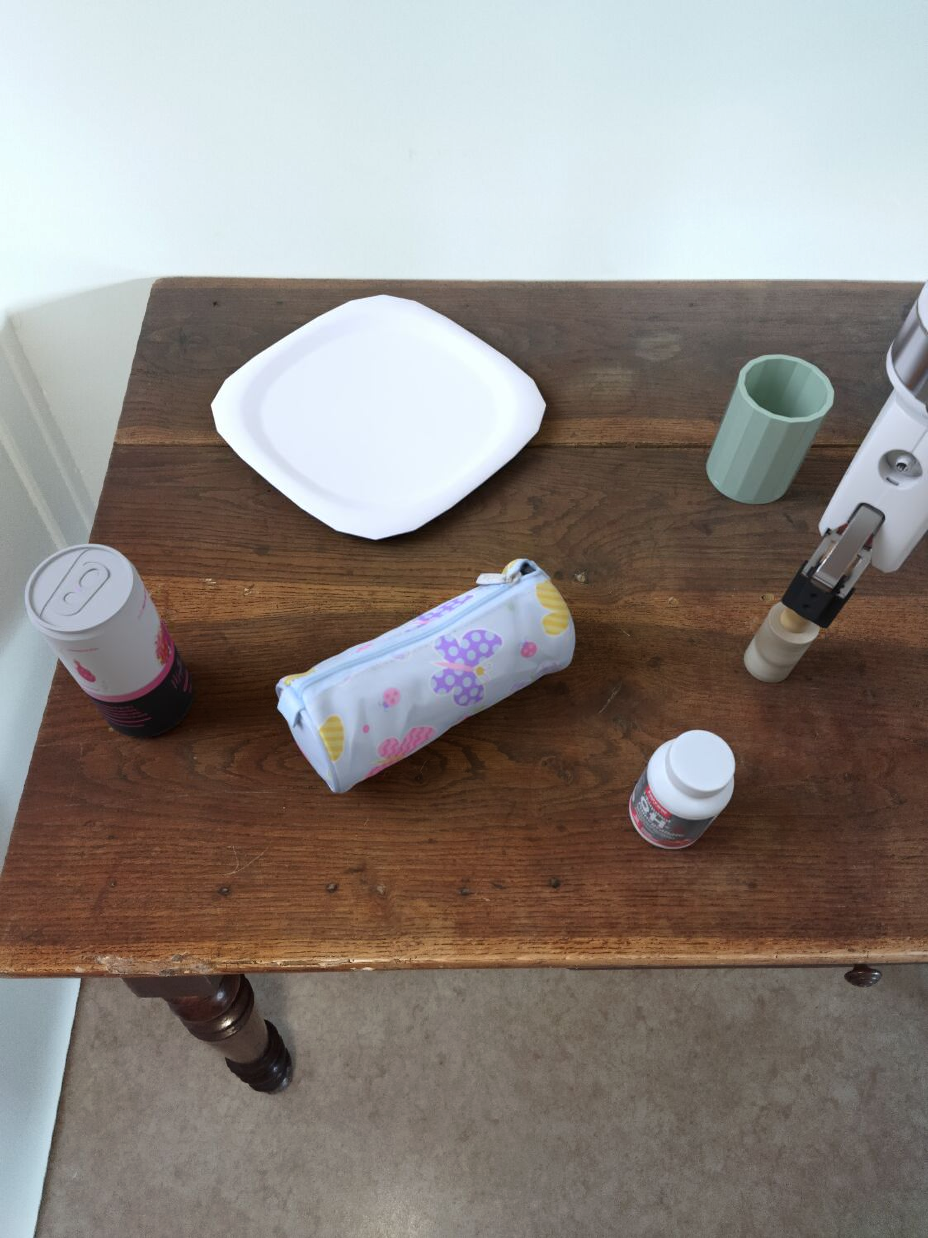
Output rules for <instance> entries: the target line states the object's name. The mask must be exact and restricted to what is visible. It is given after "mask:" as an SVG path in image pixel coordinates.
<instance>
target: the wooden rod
mask: <svg viewBox="0 0 928 1238" xmlns="http://www.w3.org/2000/svg"><path fill="white" fill-rule="evenodd" d="M850 522H851V521H849V520H848V521H847V523H846V524H844V525H842V526H841V527H840V530H842V531H843V532H844V530H845V529H846V528H847V526H848V525H849V523H850ZM874 536H875V535H874V534H873V533H872V534H871V535H870V537H869V538H868V540H867V541H866V542H865V544H866V545H868V546H870V545H872V539H873V537H874ZM834 545H835V543H834V542H833V544H832V545H831V547H830V548H829V550H828V551H827V553H826V554H825V556H824V557H823V559H822V560H821V562H823V561H824V559H825V558H826V556H827V555H828V553H829V552H830V550H831V549H832V548H833V546H834ZM857 558H859V557H858V556H857V555H856V557H855V558H854V560H853V561H852V562H851V564H850V565H849V567H848V568H847V570H846V571H845V572H844V575H846V574H847V572H848V571H849V570H850V568H851V566H853V564H854V562H855V561H856V559H857ZM820 628H821V627H819V626H818V625H816V624H814V623H813V622H811V621H809V620H806V619H804V618H803V617H801V616H799V615H798V614H797V613H796V612H795V611H793V610H791V609H790V608H788V607H786V606H785V605H783V603H782V602H781V601H779V602H777V603H775V604H773V606H772V607H771V608H770V610H769V611H768V613H767V615H766V617H765V618H764V619H763V621H762V622H761V625H760V627H759V628H758V629H757V631H756V633H755V634H754V636H753V638H752V640H751V641H750V643H749V645H748V646H747V648H746V649H745V651H744V653H743V654H744V655H743V663H744V666H745V668H746V670H747V671H748V672H749V673H750V674H751V676H753V677H754V678H755V679H757V680H759V681H761V682H764V683H769V684H774V683H780V682H782V681H783V680H785V679H786V678H788V676H789V675H790V673H791V672H792V671H793V670H794V668H795V667H796V666H797V664H798V663H799V661H800V660H801V658H802V657H803V656H804V654H805V653H806V652H807V650H808V649H809V648H810V647H811V645H812V643H813V642H814V641H815V639H816V638H817V636H818V635H819V632H820V630H821V629H820Z"/></svg>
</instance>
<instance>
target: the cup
mask: <svg viewBox="0 0 928 1238" xmlns="http://www.w3.org/2000/svg"><path fill="white" fill-rule="evenodd" d="M834 398H835V389H834V388H833V385H832V383H831V381H830V378H829V377H828V376H827V375H826V374H825V373H824V372H822V370H821V369H819V368H818V367H817V366H816V365H814V364H812V363H810V362H808V361H806V360H805V359H802V358H801V357H797V356H792V355H788V354H787V355H786V354H781V353H779V354H777V353H776V354H763V355H761V356H758V357H756V358H753V359H751V360H749V361H748V362H747V363H746V364H745V365H744V366H743V367H742V368H741V369H740V370H739V373H738V376H737V378H736V381H735V383H734V386H733V388H732V391H731V394H730V397H729V400H728V401H727V404H726V407H725V410H724V412H723V414H722V417H721V420H720V423H719V425H718V428H717V431H716V433H715V436H714V438H713V441H712V443H711V446H710V449H709V452H708V456H707V458H706V463H705V470H706V474H707V476H708V480H709V481H710V483H711V484H712V485H713V486H714V488H715V489H716V490H717V491H718V492H719V493H721V494H723V495H724V496H725V497H727V498H729V499H730V500H733V501H736V502H739V503H742V504H747V505H765V504H766V505H767V504H770V503H773V502H775V501H777V500H778V499H780V498H781V497H783V496H784V495H785V494H786V493H787V492H788V491H789V488H790V486H791V485H792V484H793V482H794V480H795V478H796V476H797V474H798V472H799V471H800V469H801V467H802V464H803V463H804V461H805V459H806V457H807V456H808V453H809V451H810V449H811V448H812V445H813V444H814V442H815V440H816V438H817V436H818V434H819V432H820V430H821V428H822V426H823V425H824V422H825V421H826V419H827V417H828V415H829V413H830V411H831V409H832V408H833V405H834Z"/></svg>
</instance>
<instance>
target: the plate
mask: <svg viewBox="0 0 928 1238" xmlns="http://www.w3.org/2000/svg"><path fill="white" fill-rule="evenodd" d="M210 407H211V411H212V415H213V419H214V424H215V428H216V432H217V434H218V435H219V436H220V437H221V438H222V439H223V440H224V441H225V443H226V444H227V445H228V446H229V447H230V448H231V449H232V451H233V452H234V453H235V454H236V455H237V456H238V457H239V458H240V460H242V461H243V462H244V463H245V464H247V466H248V467H250V468H251V469H252V470H254V471H255V472H256V473H257V474H258V475H259V476H260V477H262V478H263V479H264V480H265V481H266V482H267V483H268V484H270V485H271V486H272V487H273V488H274V489H276V490H277V492H279V493H281V494H282V495H283V496H284V497H286V498H287V499H288V500H289V501H291V502H292V503H293V504H294V505H295V506H297V507H298V508H299V509H301V510H302V511H303V512H305V513H306V514H308V515H309V516H311V517H313V518H314V519H316V520H317V521H319V522H321V523H322V524H324V525H326V526H327V527H328V528H329V529H331V530H333V531H335V532H337V533H340V534H346V535H348V536H353V537H358V538H362V539H366V540H371V541H375V542H377V541H380V540H384V539H390V538H393V537H397V536H401V535H405V534H410V533H414V532H416V531H418V530H419V529H421V528H422V527H424V526H425V525H427V524H429V523H431V522H432V521H433V520H435V519H437V518H439V517H440V516H442V515H443V514H445V513H447V512H449V511H450V510H451V509H453V508H454V507H455V506H456V505H458V504H459V503H460V502H461V501H462V500H464V499H465V498H466V497H468V496H469V495H470V494H472V493H473V492H474V491H476V490H477V489H478V488H479V487H481V486H482V485H483V484H485V483H486V482H487V481H488V480H489V479H490V478H492V477H493V476H494V475H496V473H497V472H499V471H500V470H502V468H504V467H505V466H506V465H507V464H509V463H510V462H511V461H512V460H513V459H515V457H517V455H518V454H519V453H521V451H522V450H523V449H524V448H525V447H526V446H527V445H528V444H529V442H530V441H532V439H533V438H534V437H536V436H537V434H538V433H539V430H540V427H541V424H542V421H543V417H544V414H545V411H546V407H547V404H546V402H545V400H544V398H543V396H542V394H541V391H540V390H539V388H538V386H537V383H536V382H535V381H534V379H533V378H532V377H531V376H529V375H528V374H527V373H526V372H524V370H523V369H521V368H520V367H519V366H518V365H517V364H515V363H514V362H513V361H512V360H511V359H509V358H508V357H507V356H505V355H504V354H502V353H501V352H500V351H498V350H497V349H495V348H494V347H493V346H491V345H489V344H488V343H486V342H485V341H484V340H482V339H481V338H479V337H478V336H476V335H475V334H473V333H472V332H470V331H468V330H467V329H466V328H464V327H463V326H461V325H459V324H458V323H456V322H455V321H453V320H452V319H451V318H449V317H447V316H445V315H444V314H441V313H439V312H437V311H435V310H434V309H431V308H430V307H428V306H426V305H424V304H422V303H420V302H418V301H416V300H412V299H408V298H403V297H397V296H393V295H388V294H378V295H373V296H369V297H362V298H357V299H353V300H349V301H346V302H345V303H343V304H341V305H339V306H337V307H335V308H333V309H330V310H329V311H326V312H325V313H323V314H320V315H319V316H317V317H315V318H314V319H312V320H310V321H309V322H307V323H305V324H303V325H302V326H301V327H299V328H297V329H295V330H293V331H292V332H291V333H289V334H288V335H286V336H284V337H283V338H281V339H280V340H278V341H276V342H275V343H273V344H272V345H270V346H269V347H267V348H266V349H264V350H262V351H261V352H260V353H258V354H256V355H255V356H253V357H252V358H250V360H248V361H247V362H245V364H244V365H242V366H241V367H240V368H238V369H237V370H236V371H234V373H232V374H231V375H229V376H228V377H227V378H226V379H225V380H224V382H223V384H222V385H221V387H220V388H219V390H218V392H217V393H216V396H215V398H213V400H212V402H211V404H210Z"/></svg>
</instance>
